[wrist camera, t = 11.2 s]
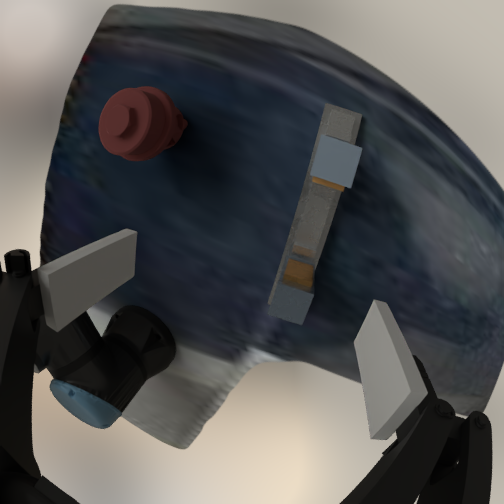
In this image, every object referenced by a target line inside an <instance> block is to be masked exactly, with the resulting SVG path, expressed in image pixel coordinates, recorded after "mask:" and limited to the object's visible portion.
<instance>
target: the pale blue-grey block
mask: <svg viewBox="0 0 504 504" xmlns="http://www.w3.org/2000/svg"><path fill="white" fill-rule="evenodd" d="M361 152H362V148H361V147H358V146H355V145H352V144H349V143H346V142H343V141H340V140H337V139H334V138H331V137H328V136H325V135H322V134H321V137H320V141H319V144H318V148H317V151H316V155H315V158H314V162H313V165H312V169H311V172H310V175H312V176H313V179H312V182H316V183H319V184H322V185H325V186H328V187H331V188H334V189H337V190H340V191H344V187H348V188H351V186H352V183H353V180H354V176H355V173H356V170H357V166H358V163H359V159H360V156H361Z"/></svg>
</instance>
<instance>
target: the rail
mask: <svg viewBox="0 0 504 504" xmlns="http://www.w3.org/2000/svg"><path fill="white" fill-rule="evenodd" d="M361 118H362V114H359V113H356V112H353V111H350V110H347V109H344V108H341V107H338V106H334V105H331V104H328V103H326V104H325V108H324V112H323V115H322V119H321V123H320V127H319V131H318V135H317V138H316V142H315V146H314V149H313V153H312V157H311V160H310V164H309V168H308V171H307V175H306V178H305V182H304V185H303V189H302V192H301V196H300V199H299V203H298V206H297V210H296V213H295V217H294V220H293V223H292V227H291V230H290V233H289V237H288V240H287V243H286V247H285V250H284V253H283V256H282V260H281V263H280V266H279V269H278V272H277V276H276V279H275V282H274V285H273V288H272V291H271V294H270V298H269V301H268V304H269V305H270V308H269V311H268V315H271V316H274V317H277V318H280V319H283V320H287V321H290V322H293V323H296V324H300V325H302V324H303V321H304V319H305V316H306V314H307V312H308V309H309V307H310V304H311V302H312V299H313V297H314V288H315V269H316V267H317V264H318V261H319V258H320V255H321V252H322V250H323V247H324V244H325V241H326V238H327V235H328V232H329V229H330V226H331V223H332V220H333V217H334V214H335V210H336V207H337V204H338V201H339V198H340V194H341V191H340V190H337V189H334V188H331V187H328V186H325V185H322V184H319V183H316V182H312V179H313V176H312V175H310V172H311V169H312V165H313V162H314V158H315V155H316V151H317V148H318V144H319V141H320V137H321V134H322V135H325V136H328V137H331V138H334V139H337V140H340V141H343V142H346V143H349V144H352V145H355V142H356V138H357V134H358V130H359V126H360V122H361Z"/></svg>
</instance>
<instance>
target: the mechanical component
mask: <svg viewBox="0 0 504 504" xmlns="http://www.w3.org/2000/svg"><path fill="white" fill-rule="evenodd" d="M187 124H188V123H187V121H186V120H185V119H183V116H182V113H181V112H180V111H179V109H178V108H176V107H175V106H174V103H173V101H172V100H171V98H170V97H169V96H168V95H167V94H166V93H165V92H163V91H161V90H159V89H157V88H153V87H148V86H146V87H139V88H136V89H135V88H126V89H123V90H121V91H119V92H117V93H116V94H114V95H113V96H112V97H111V98H110V99H109V101H108V102H107V103H106V105H105V107H104V109H103V111H102V113H101V116H100V120H99V135H100V139H101V142H102V144H103V146H104V147H105V148H106V149H107V150H108V151H109V152H110V153H112V154H115V155H120V156H122V157H123V158H125V159H127V160H130V161H144V160H148V159H151V158H153V157H155V156H157V155H158V154H159V153H161V152H162V151H163V150H165V149H168V148H170V147H172V146H173V145H175V144H176V143H177V142H178V140H179V139H180V137H181V135H182V133H183V130H184V129H185V128H186V127H187Z"/></svg>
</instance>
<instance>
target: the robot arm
mask: <svg viewBox="0 0 504 504" xmlns="http://www.w3.org/2000/svg"><path fill="white" fill-rule="evenodd" d="M136 239H137V232H136V231H133V230H129V229H124V230H122V231H119V232H117V233H115V234H112V235H110V236H107V237H105V238H103V239H100V240H98V241H96V242H93V243H91V244H89V245H87V246H84V247H82V248H80V249H78V250H75V251H73V252H71V253H69V254H67V255H64V256H62V257H60V258H57V259H55V260H53V261H51V262H49V263H47V264H45V265H43V266H41V267H39V268H37V269H35V270H33V271H31V262H30V254H29V252H28V251H26V250H22V249H16V250H12V251H9V252H7V253H6V254H5V255H4V258H5V265H6V272H7V273H6V272H3V271H2V269H1V263H0V504H80V503H78V502H77V501H76V500H75V499H74V498H72V497H71V496H69V495H68V494H66V493H65V492H64V491H62V490H61V489H60V488H58V487H57V486H56V485H54V484H53V483H52V482H50V481H49V480H48V479H47V478H45V477H44V476H42V477H41V473H40V470H39V467H38V464H37V462H36V460H35V458H34V454H33V446H32V445H33V444H32V389H33V375H34V372H35V373H40V372H41V371H42V370H44V369H45V368H47V369H48V371H49V372H50V373H51V375H52V376H53V378H54V379H53V380H52V381H51V384H50V390H51V391H52V393H53V395H54V397H55V398H56V399H57V400H58V402H59V403H60V404H61V405H62V406H63V407H64V408H66V409H67V410H68V411H69V412H70V413H71V414H73V415H74V416H75V417H77V418H78V419H80V420H81V421H83V422H85V423H86V424H89V425H90V426H93V427H96V428H100V429H105V428H108V427H110V426H111V425H112V424H113V423H114V422H115V421H116V420H117V419H118V418H119V417H120V416H121V415H122V412H123V411H124V410H125V408H126V407H127V406H128V404H129V403H130V402H131V400H132V399H133V398H134V396H135V395H136V394H137V392H138V391H139V390H140V388H141V387H142V386H143V384H144V383H145V382H146V380H148V379H149V378H151V377H153V376H155V375H156V374H158V373H160V372H161V371H163V370H165V369H166V368H167V367H168V366H169V365H170V363H171V362H172V361H173V359H174V357H175V353H176V347H175V343H174V340H173V337H172V335H171V333H170V332H169V330H168V329H167V327H166V326H165V325H164V323H163V322H162V321H161V320H160V319H159V318H157V317H156V316H155V315H154V314H152V313H151V312H149V311H148V310H146V309H144V308H141V307H138V306H125V307H122V308H121V309H120V310H118V311H117V312H116V313H115V314H114V315H113V316H112V317H111V319H110V321H109V323H108V325H107V327H106V329H105V331H104V333H103V335H102V337H101V336H100V334H99V332H98V331H97V329H96V327H95V326H94V324H93V322H92V320H91V319H90V317H89V315H88V313H87V311H86V310H87V309H89V308H90V307H91V306H93V305H94V304H96V303H97V302H98V301H100V300H101V299H102V298H104V297H105V296H107V295H108V294H109V293H111V292H112V291H114V290H115V289H116V288H118V287H119V286H121V285H122V284H123V283H125V282H126V281H128V280H129V279H131V278H132V277H133V276H134V270H135V252H136ZM354 345H355V350H356V355H357V359H358V364H359V370H360V375H361V380H362V386H363V392H364V397H365V403H366V409H367V416H368V423H369V431H370V438H371V439H379V440H387V439H388V438H389V437H390V436H391V435H392V434H393V433H394V432H395V431H396V435H397V439H396V440H395V441H394V442H393V443H392V444H391V445H390V446H389V447H388V448H387V449H386V450H385V451H384V452H383V453H382V454H383V456H382V457H381V459H380V460H379V461H378V463H377V464H376V465H375V466H374V467H373V469H372V470H371V471H370V472H369V473H368V474H367V476H366V477H365V478H364V479H363V480H362V481H361V482H360V483H359V484H358V485H357V486H356V488H355V489H354V490H353V491H352V492H351V493H350V494H349V495H348V496H347V497H346V498H345V499H344V500H343V501H342V502H341V503H340V504H414V502H415V501H416V499H417V498H418V496H419V498H418V501H417V504H489V501H490V492H491V480H492V429H491V423H490V421H489V419H488V417H487V416H486V415H485V414H484V413H482V412H479V411H473V412H472V413H471V414H470V415H469V416H468V417H467V418H466V419H464V418H461V417H458V416H455V415H456V414H455V411H454V409H453V407H452V406H451V405H450V404H449V403H448V402H447V401H445V400H442V399H438V398H437V396H436V393H435V391H434V388H433V386H432V384H431V381H430V379H428V378H429V377H428V375H427V373H426V370H425V368H424V366H423V364H422V362H421V361H420V360H419V359H418V358H417V357H416V356H415V355H412V354H411V352H410V350H409V348H408V345H407V343H406V341H405V339H404V337H403V335H402V333H401V331H400V329H399V327H398V325H397V323H396V321H395V319H394V317H393V315H392V313H391V311H390V309H389V307H388V305H387V303H385V302H381V301H377V300H374V301H373V303H372V305H371V307H370V310H369V312H368V314H367V316H366V318H365V320H364V322H363V325H362V327H361V329H360V331H359V333H358V335H357V337H356V339H355V341H354ZM458 461H459V462H458ZM457 462H458V464H457ZM419 494H420V495H419Z"/></svg>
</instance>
